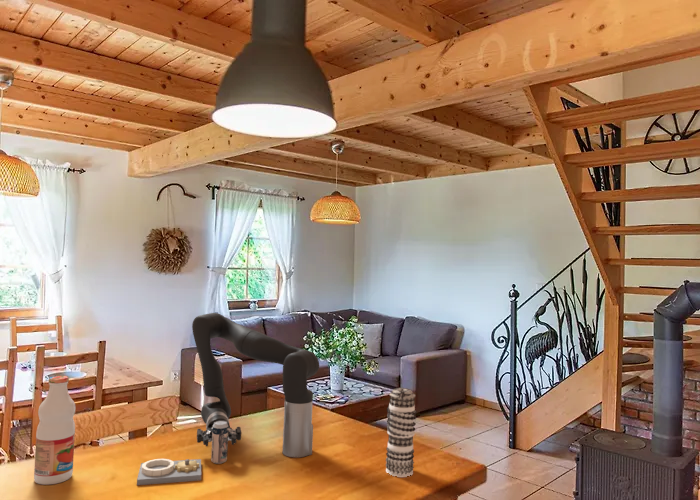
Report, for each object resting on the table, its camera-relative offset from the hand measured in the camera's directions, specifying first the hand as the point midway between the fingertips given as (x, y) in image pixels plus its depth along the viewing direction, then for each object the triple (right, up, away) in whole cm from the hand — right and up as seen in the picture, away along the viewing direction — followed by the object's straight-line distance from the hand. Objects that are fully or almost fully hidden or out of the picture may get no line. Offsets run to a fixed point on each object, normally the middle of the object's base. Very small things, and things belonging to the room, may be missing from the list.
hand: (220, 442), depth 160 cm
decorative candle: (+55, -9, 0) cm, 56 cm away
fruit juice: (-43, -5, -15) cm, 46 cm away
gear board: (-12, -6, -9) cm, 16 cm away
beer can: (-1, -7, +2) cm, 7 cm away
